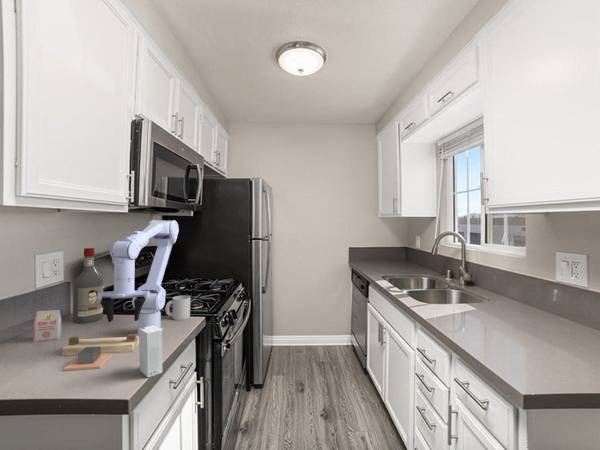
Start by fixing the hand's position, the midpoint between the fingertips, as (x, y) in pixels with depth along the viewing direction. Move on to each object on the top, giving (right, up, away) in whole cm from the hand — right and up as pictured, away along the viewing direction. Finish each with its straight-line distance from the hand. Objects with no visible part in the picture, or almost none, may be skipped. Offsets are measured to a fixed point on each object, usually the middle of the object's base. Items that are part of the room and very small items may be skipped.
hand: (123, 320), depth 100 cm
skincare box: (+15, -11, -13) cm, 22 cm away
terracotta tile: (-6, -10, -8) cm, 14 cm away
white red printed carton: (-32, -9, +9) cm, 34 cm away
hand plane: (-8, -10, +2) cm, 12 cm away
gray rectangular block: (-6, -9, -8) cm, 13 cm away
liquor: (-32, -9, +30) cm, 45 cm away
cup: (+4, -10, +35) cm, 36 cm away
